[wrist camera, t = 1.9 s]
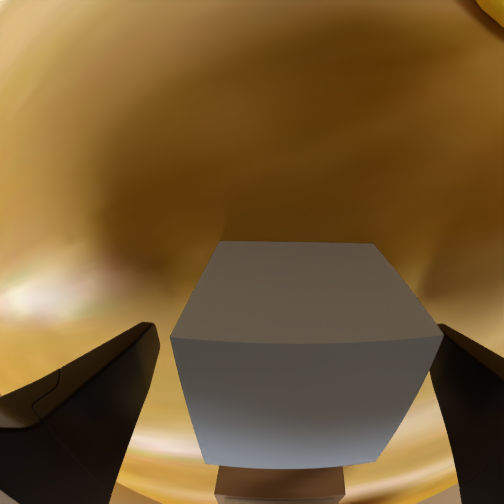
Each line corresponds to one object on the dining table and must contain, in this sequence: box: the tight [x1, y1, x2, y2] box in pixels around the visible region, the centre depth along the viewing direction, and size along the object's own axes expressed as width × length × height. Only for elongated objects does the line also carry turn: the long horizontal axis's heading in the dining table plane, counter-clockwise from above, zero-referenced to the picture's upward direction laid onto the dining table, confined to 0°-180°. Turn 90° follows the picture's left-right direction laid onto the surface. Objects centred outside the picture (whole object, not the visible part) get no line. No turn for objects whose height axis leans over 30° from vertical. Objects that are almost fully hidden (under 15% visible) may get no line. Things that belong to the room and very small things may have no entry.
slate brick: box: [170, 241, 444, 469], centre depth 8 cm, size 5×5×5 cm
